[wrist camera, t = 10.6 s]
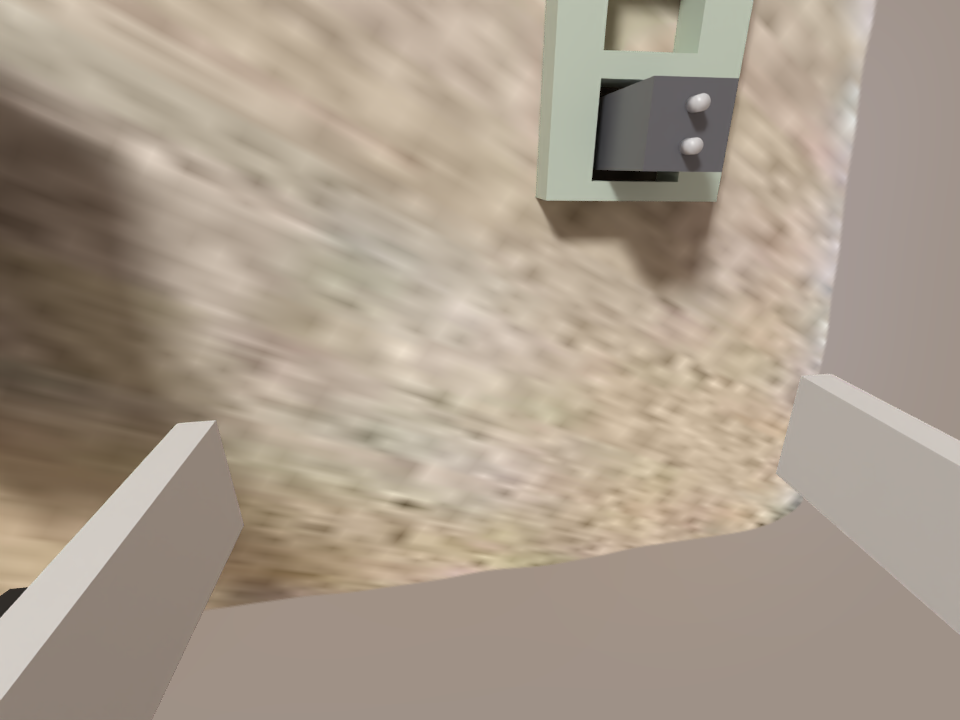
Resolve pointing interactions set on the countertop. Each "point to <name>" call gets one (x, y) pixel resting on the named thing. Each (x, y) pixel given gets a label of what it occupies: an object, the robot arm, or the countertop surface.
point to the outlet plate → (587, 66)
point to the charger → (665, 125)
